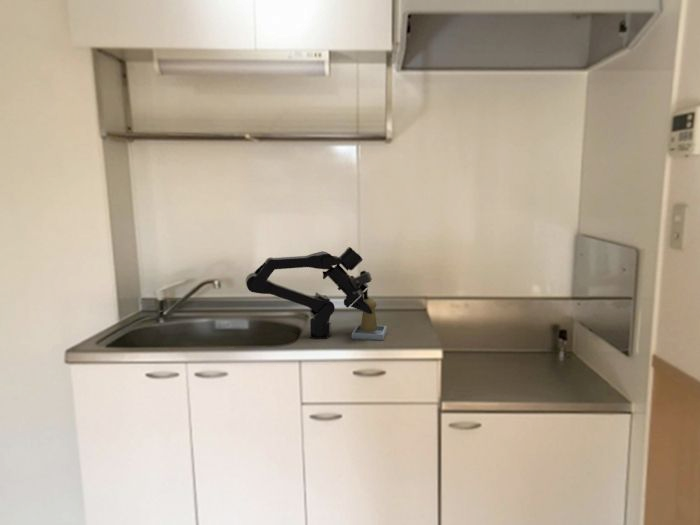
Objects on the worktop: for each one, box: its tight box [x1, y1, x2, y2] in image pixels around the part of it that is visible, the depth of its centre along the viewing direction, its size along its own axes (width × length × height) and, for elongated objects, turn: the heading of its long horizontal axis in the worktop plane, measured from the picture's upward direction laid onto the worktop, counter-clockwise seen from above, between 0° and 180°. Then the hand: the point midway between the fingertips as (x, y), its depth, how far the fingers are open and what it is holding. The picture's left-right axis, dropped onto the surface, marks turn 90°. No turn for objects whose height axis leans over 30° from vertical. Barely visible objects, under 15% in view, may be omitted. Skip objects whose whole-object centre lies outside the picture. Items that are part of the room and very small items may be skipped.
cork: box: [360, 298, 378, 332], centre depth 165 cm, size 6×6×11 cm
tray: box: [351, 324, 388, 342], centre depth 166 cm, size 11×11×2 cm
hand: (372, 311), depth 165 cm, fingers closed on cork, 5 cm apart
